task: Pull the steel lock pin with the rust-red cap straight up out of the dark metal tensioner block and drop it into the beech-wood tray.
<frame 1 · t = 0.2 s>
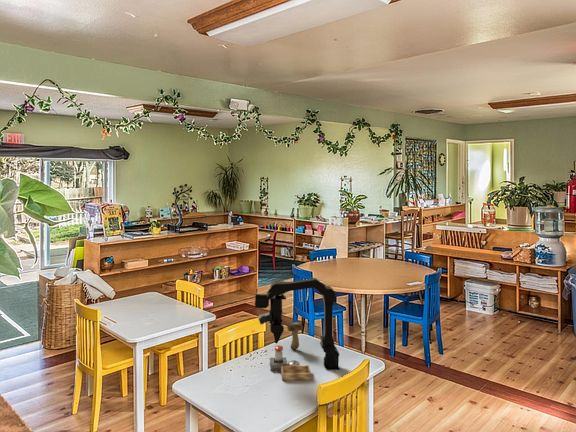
hand: (275, 339, 213), 14 cm above the table, fingers open, 9 cm apart
tray: (295, 375, 206), on the table
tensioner: (278, 366, 215), on the table
lock pin: (278, 357, 215), in the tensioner
mushroom: (294, 350, 237), on the table
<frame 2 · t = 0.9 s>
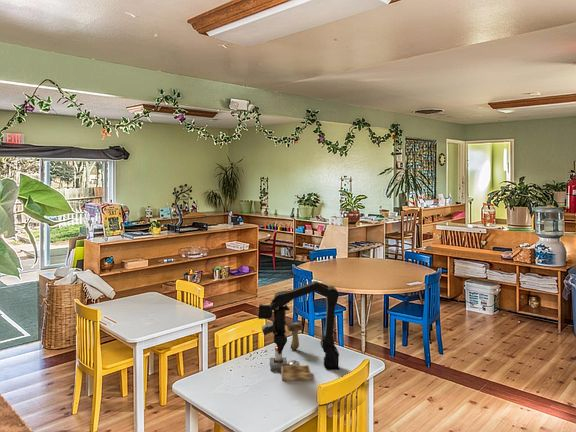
hand: (279, 350, 215), 8 cm above the table, fingers open, 9 cm apart
nothing on the table moved.
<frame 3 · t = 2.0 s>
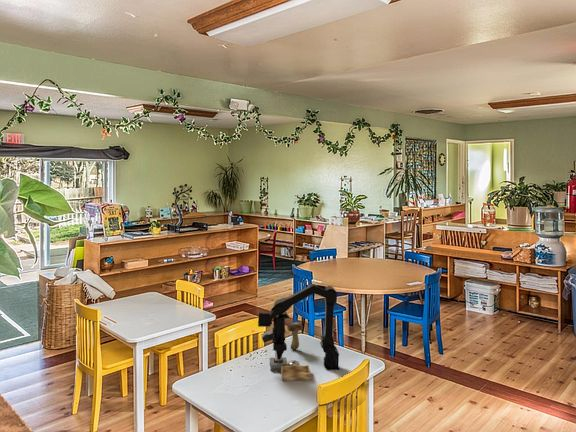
hand: (278, 357, 215), 5 cm above the table, fingers closed on lock pin, 3 cm apart
lock pin: (278, 357, 215), in the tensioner, touching gripper
everything else where it was.
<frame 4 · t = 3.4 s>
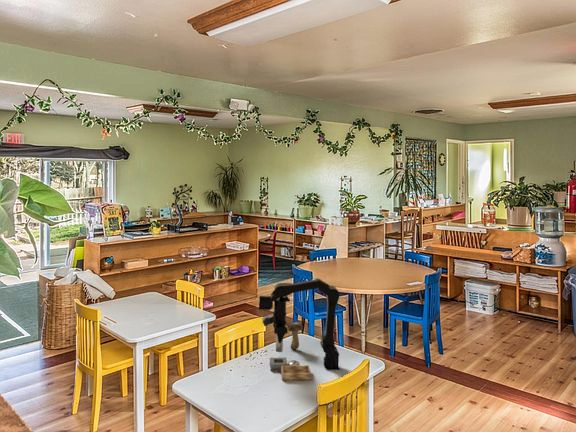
hand: (279, 341, 214), 13 cm above the table, fingers closed on lock pin, 3 cm apart
lock pin: (279, 340, 214), point 13 cm above the table, touching gripper
everything else where it was.
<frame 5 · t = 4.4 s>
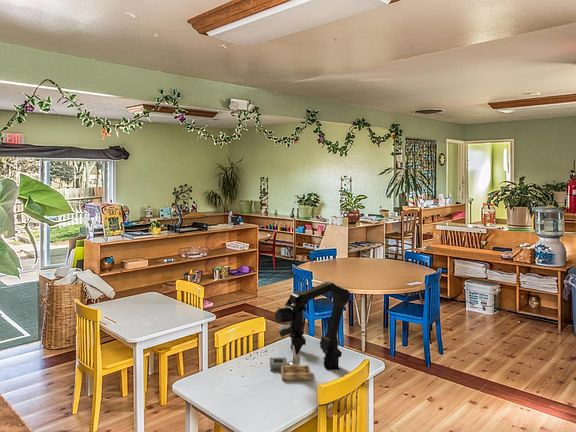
hand: (296, 352, 205), 11 cm above the table, fingers closed on lock pin, 3 cm apart
lock pin: (296, 351, 205), point 12 cm above the table, touching gripper
everything else where it was.
when the fingers open (7 cm above the table, at t = 5.2 s): lock pin drops 2 cm, resting on tray.
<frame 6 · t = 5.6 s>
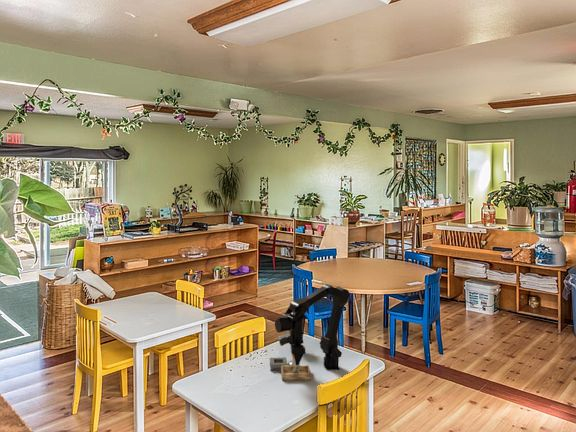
hand: (296, 361, 205), 7 cm above the table, fingers open, 8 cm apart
lock pin: (295, 364, 206), in the tray, point 6 cm above the table
everything else where it was.
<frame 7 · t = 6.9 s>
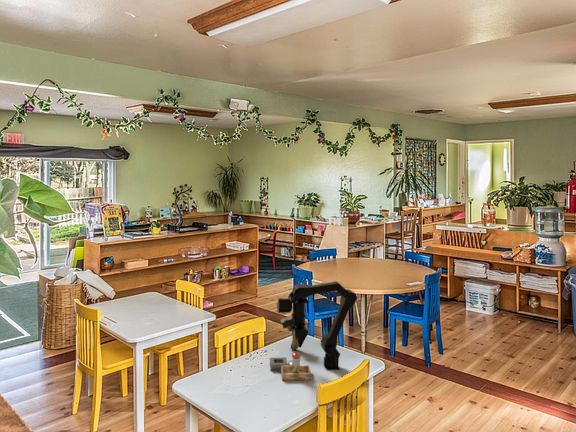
hand: (298, 343, 212), 13 cm above the table, fingers open, 9 cm apart
nothing on the table moved.
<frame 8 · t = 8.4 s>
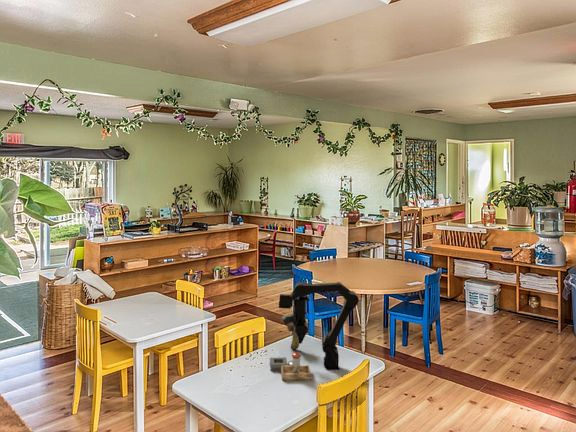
hand: (299, 340, 216), 13 cm above the table, fingers open, 9 cm apart
nothing on the table moved.
at the end: lock pin inside the target area on the tray (0.1 cm from its centre), point 5.6 cm above the tray's base; lock pin touching tray; the gripper is holding nothing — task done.
